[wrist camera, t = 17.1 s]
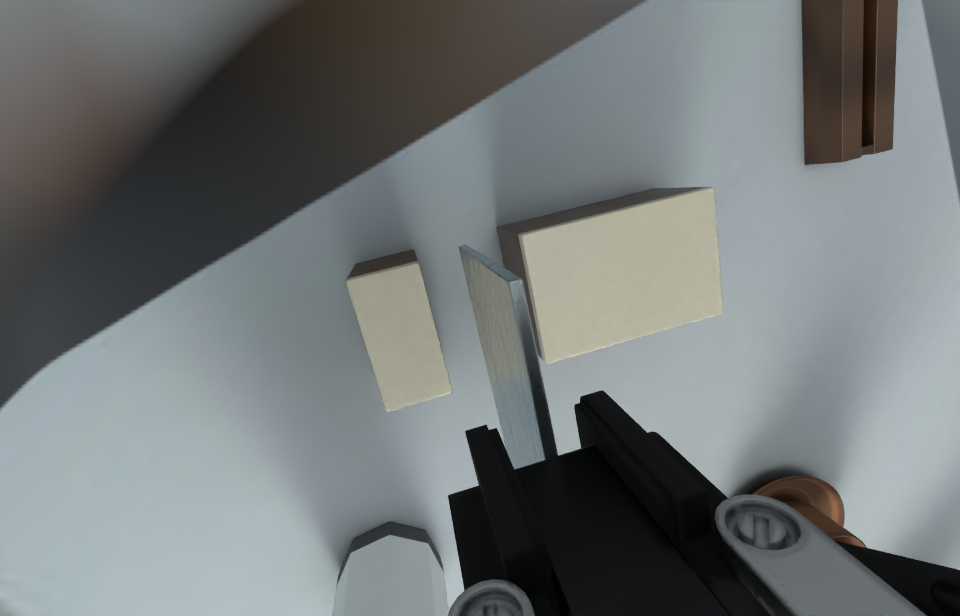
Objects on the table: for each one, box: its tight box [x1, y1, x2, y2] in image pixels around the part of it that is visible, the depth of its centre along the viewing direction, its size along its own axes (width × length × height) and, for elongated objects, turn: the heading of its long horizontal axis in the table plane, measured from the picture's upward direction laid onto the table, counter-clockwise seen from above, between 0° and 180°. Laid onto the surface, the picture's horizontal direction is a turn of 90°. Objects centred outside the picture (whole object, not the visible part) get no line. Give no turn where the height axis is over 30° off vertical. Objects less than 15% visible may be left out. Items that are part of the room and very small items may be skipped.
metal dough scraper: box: [459, 245, 732, 616], centre depth 12 cm, size 10×2×12 cm, turn 13°
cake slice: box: [346, 250, 453, 412], centre depth 28 cm, size 8×4×6 cm, turn 13°
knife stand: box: [802, 0, 898, 165], centre depth 32 cm, size 12×4×3 cm, turn 13°
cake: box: [497, 187, 723, 364], centre depth 30 cm, size 8×12×6 cm, turn 103°
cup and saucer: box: [752, 475, 866, 548], centre depth 40 cm, size 12×12×6 cm
